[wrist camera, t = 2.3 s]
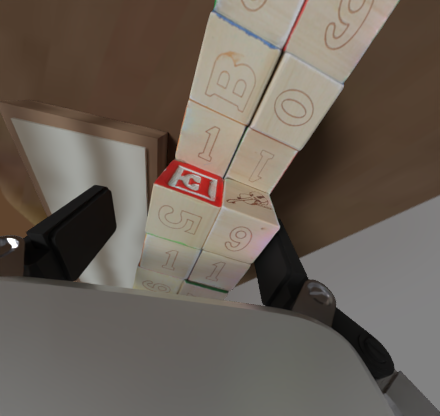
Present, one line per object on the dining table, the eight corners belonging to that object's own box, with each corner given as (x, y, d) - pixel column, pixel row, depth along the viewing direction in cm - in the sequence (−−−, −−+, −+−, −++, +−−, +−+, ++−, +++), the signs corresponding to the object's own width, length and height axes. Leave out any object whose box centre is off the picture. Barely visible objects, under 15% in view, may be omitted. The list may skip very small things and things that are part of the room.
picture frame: (167, 132, 17) (156, 139, 14) (162, 279, 32) (155, 297, 29) (31, 100, 16) (-9, 101, 13) (89, 267, 31) (76, 284, 28)
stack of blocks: (238, 1, 12) (282, -483, 2) (311, 46, 13) (583, -119, 3) (170, 217, 24) (124, 312, 13) (212, 232, 25) (200, 330, 14)
